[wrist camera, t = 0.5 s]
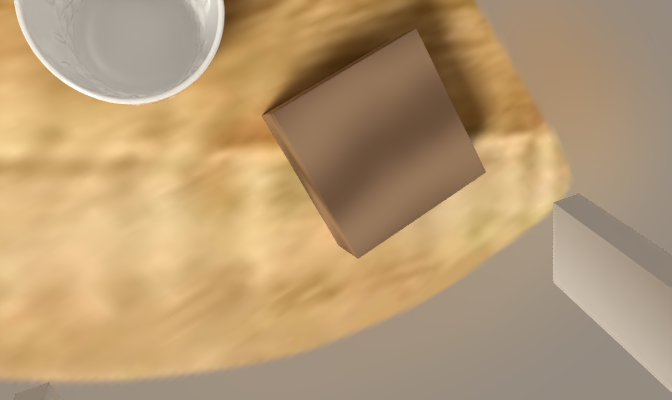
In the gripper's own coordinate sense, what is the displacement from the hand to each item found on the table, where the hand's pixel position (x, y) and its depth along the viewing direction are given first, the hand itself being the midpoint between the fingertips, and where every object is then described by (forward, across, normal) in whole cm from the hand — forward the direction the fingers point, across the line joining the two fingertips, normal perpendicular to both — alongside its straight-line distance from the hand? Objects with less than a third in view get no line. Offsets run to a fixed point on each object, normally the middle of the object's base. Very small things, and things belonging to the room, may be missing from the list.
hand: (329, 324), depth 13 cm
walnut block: (+21, +7, -6) cm, 23 cm away
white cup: (+23, -4, +4) cm, 24 cm away
